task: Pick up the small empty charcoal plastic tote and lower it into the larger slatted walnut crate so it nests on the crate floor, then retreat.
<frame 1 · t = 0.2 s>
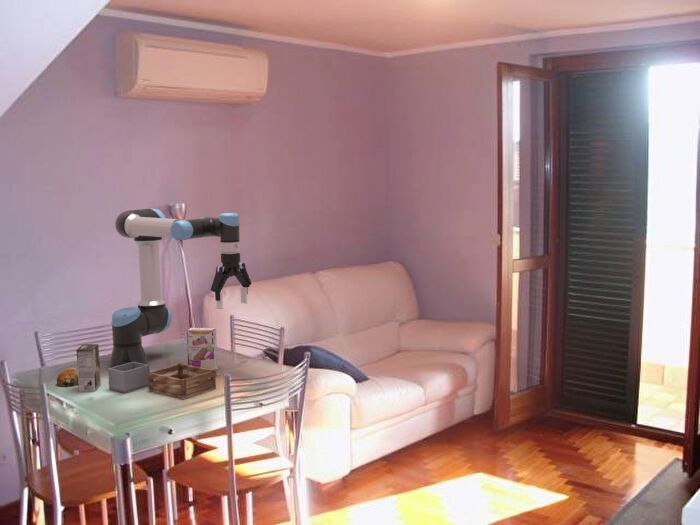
hand: (232, 306, 309), 28 cm above the table, fingers open, 13 cm apart
coffee box: (90, 388, 296), on the table
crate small: (129, 387, 297), on the table
candy bar box: (202, 368, 323), on the table
bread roll: (70, 384, 303), on the table
architectural model: (207, 378, 311), on the table
crate big: (182, 389, 293), on the table
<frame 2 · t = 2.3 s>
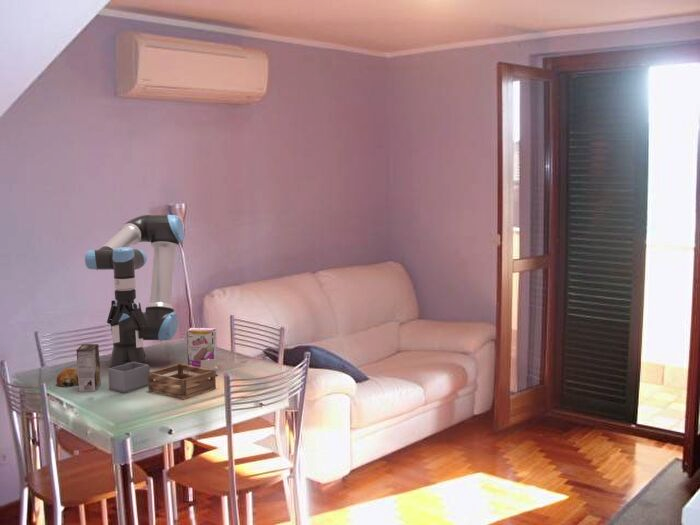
hand: (127, 344, 295), 17 cm above the table, fingers open, 13 cm apart
nothing on the table moved.
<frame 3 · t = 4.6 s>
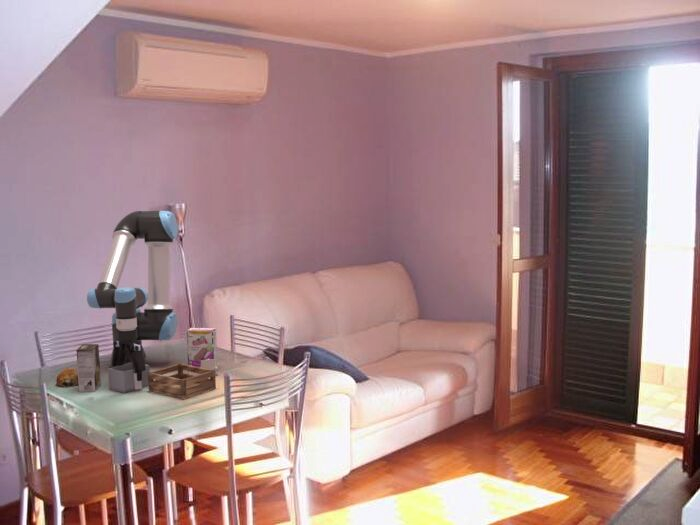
hand: (129, 386, 297), 0 cm above the table, fingers closed on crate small, 9 cm apart
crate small: (129, 387, 297), on the table, touching gripper
everything else where it was.
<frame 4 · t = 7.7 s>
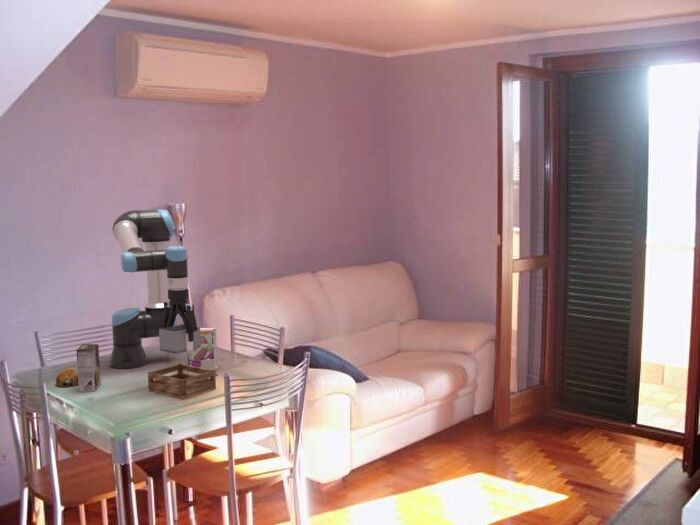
hand: (180, 348, 291), 16 cm above the table, fingers closed on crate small, 9 cm apart
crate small: (180, 348, 291), point 16 cm above the table, touching gripper
everything else where it was.
when the fingers open (3 cm above the table, at t = 10.3 s): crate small drops 2 cm, resting on crate big.
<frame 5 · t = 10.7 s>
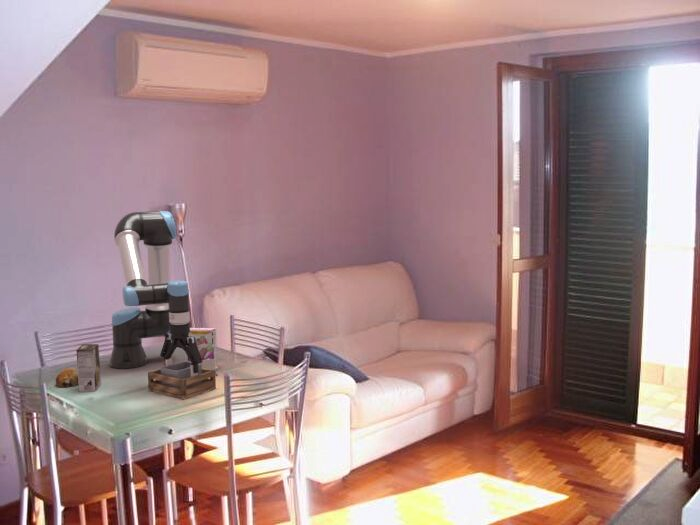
hand: (181, 378, 293), 4 cm above the table, fingers open, 13 cm apart
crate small: (182, 386, 293), point 1 cm above the table, touching crate big
everything else where it was.
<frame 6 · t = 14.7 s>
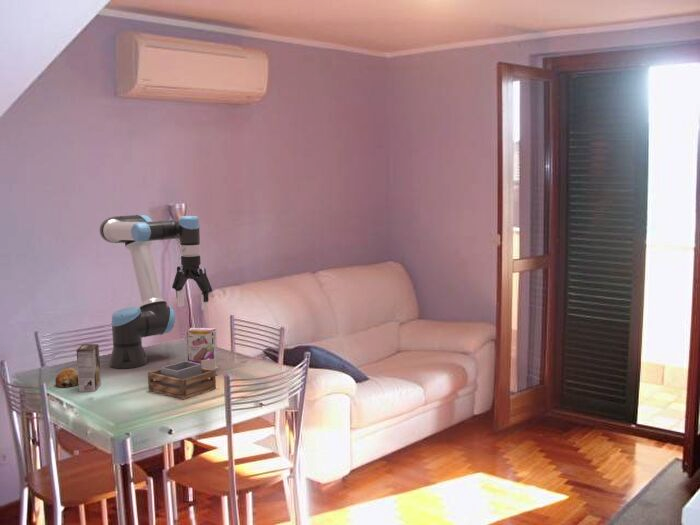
hand: (192, 308, 311), 27 cm above the table, fingers open, 13 cm apart
at the end: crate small inside the target area on the crate big (0.1 cm from its centre), point 1.0 cm above the crate big's base; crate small tilted 0°; the gripper is holding nothing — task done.
